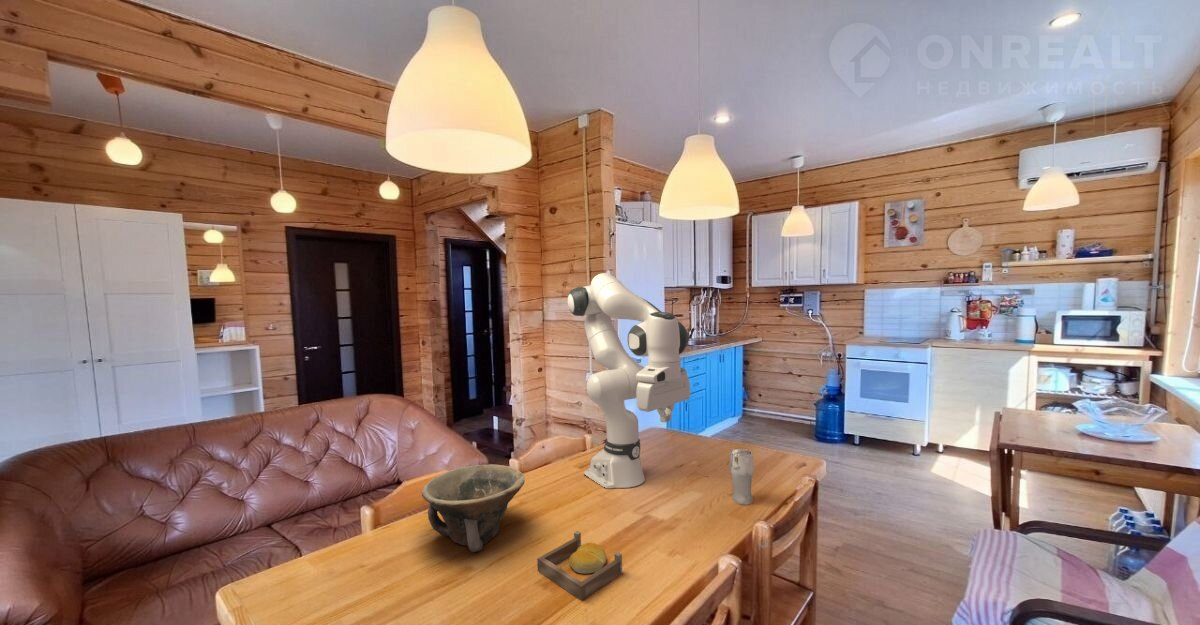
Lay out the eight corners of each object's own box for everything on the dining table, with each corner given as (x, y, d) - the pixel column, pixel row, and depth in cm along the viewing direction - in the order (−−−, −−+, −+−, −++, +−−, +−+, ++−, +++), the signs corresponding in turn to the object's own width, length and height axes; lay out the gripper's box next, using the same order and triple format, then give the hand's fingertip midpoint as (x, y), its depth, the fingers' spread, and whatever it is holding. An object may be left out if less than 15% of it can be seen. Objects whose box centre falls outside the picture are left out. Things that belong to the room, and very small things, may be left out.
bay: (537, 570, 103) (536, 552, 103) (578, 547, 112) (577, 530, 112) (581, 600, 92) (580, 580, 92) (622, 572, 101) (621, 553, 101)
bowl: (494, 501, 140) (492, 455, 139) (545, 531, 121) (543, 477, 121) (408, 535, 121) (406, 481, 121) (453, 576, 102) (450, 512, 102)
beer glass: (755, 506, 131) (754, 456, 131) (731, 504, 133) (730, 455, 132) (752, 496, 138) (751, 448, 138) (729, 494, 139) (728, 448, 139)
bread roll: (563, 570, 103) (562, 553, 103) (583, 550, 111) (582, 535, 111) (594, 580, 99) (593, 562, 99) (612, 559, 107) (611, 542, 107)
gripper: (676, 365, 130) (678, 411, 131) (631, 375, 116) (633, 427, 116) (695, 367, 126) (696, 415, 126) (650, 377, 111) (652, 431, 112)
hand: (665, 421), depth 121 cm, fingers closed
